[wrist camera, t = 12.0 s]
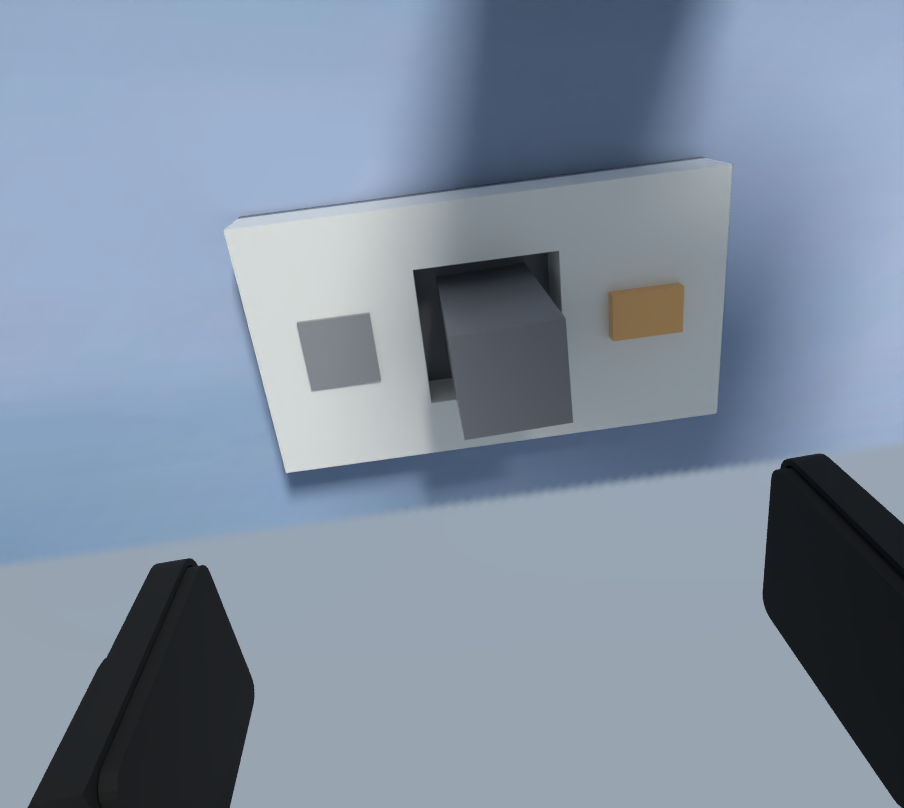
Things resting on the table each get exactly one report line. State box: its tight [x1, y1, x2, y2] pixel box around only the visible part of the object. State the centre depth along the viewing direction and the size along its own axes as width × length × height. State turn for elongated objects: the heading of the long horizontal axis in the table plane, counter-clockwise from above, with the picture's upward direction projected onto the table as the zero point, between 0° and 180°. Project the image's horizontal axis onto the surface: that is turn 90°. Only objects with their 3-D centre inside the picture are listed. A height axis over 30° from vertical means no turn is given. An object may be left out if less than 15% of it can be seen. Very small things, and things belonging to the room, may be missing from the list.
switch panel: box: [224, 157, 733, 473], centre depth 30 cm, size 20×11×4 cm, turn 96°
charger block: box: [436, 263, 573, 440], centre depth 27 cm, size 4×4×8 cm
